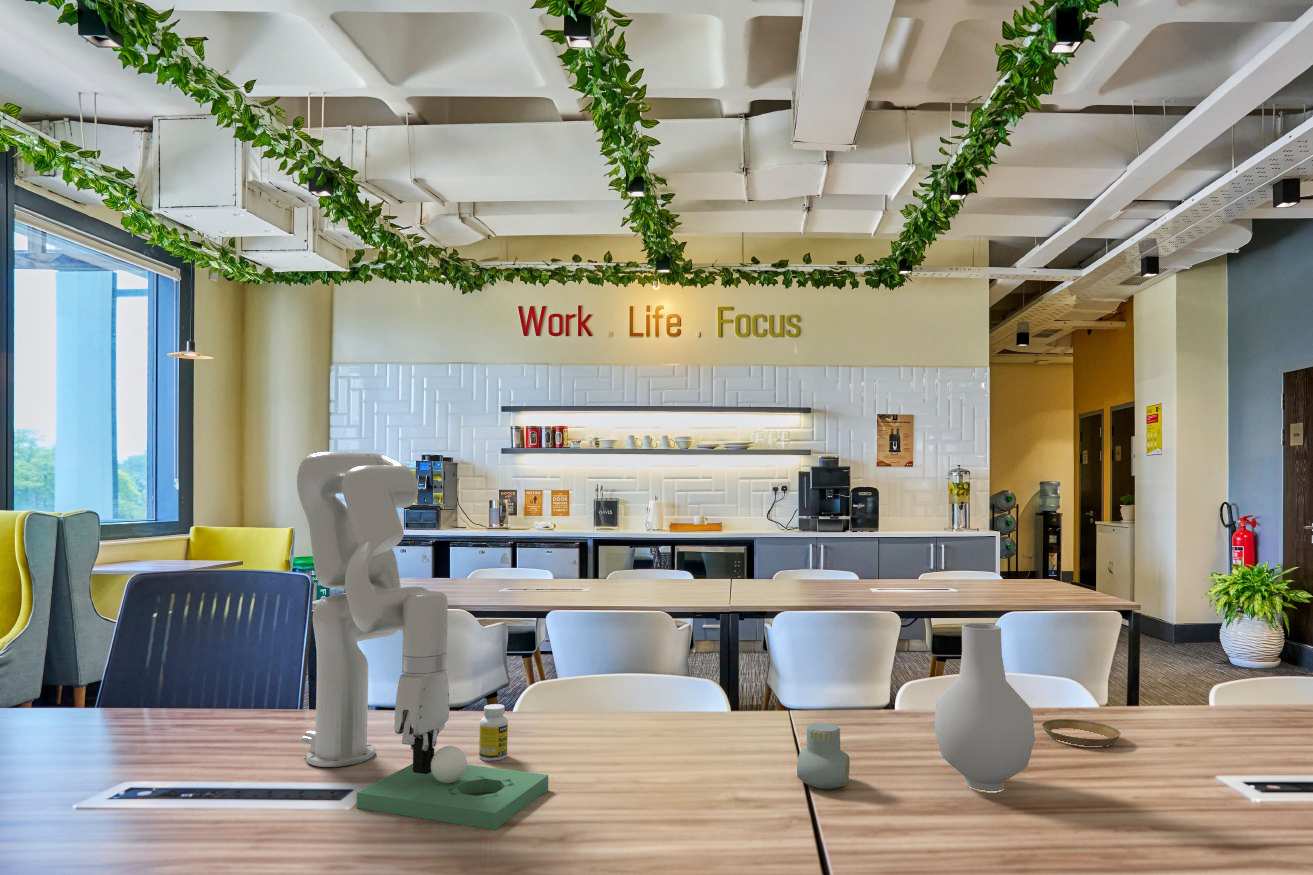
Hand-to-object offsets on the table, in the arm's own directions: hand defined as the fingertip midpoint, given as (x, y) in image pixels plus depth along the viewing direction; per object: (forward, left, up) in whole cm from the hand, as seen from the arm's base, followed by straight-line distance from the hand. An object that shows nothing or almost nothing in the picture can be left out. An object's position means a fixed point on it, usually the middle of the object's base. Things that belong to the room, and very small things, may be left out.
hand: (423, 771), depth 143 cm
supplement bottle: (+1, +21, -4) cm, 22 cm away
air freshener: (+64, +28, -4) cm, 70 cm away
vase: (+91, +36, -4) cm, 98 cm away
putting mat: (+6, 0, -4) cm, 7 cm away
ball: (+5, 0, +2) cm, 5 cm away
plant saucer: (+111, +72, -4) cm, 133 cm away
